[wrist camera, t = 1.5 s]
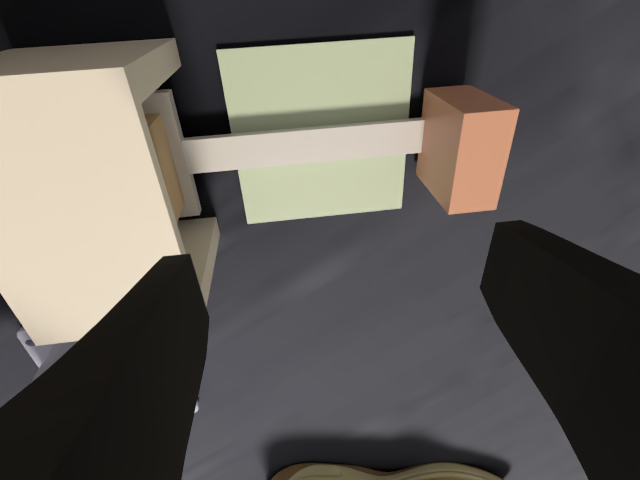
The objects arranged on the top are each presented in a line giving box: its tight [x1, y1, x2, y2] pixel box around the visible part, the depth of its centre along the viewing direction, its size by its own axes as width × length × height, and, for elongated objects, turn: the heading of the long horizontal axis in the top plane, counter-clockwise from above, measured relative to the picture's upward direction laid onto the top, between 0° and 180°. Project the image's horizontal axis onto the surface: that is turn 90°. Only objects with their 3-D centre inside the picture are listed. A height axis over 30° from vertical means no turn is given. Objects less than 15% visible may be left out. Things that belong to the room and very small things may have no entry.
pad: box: [217, 36, 415, 224], centre depth 18 cm, size 8×8×1 cm
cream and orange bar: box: [141, 85, 520, 217], centre depth 16 cm, size 18×6×4 cm, turn 93°
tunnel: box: [0, 38, 220, 346], centre depth 14 cm, size 6×9×6 cm, turn 3°
